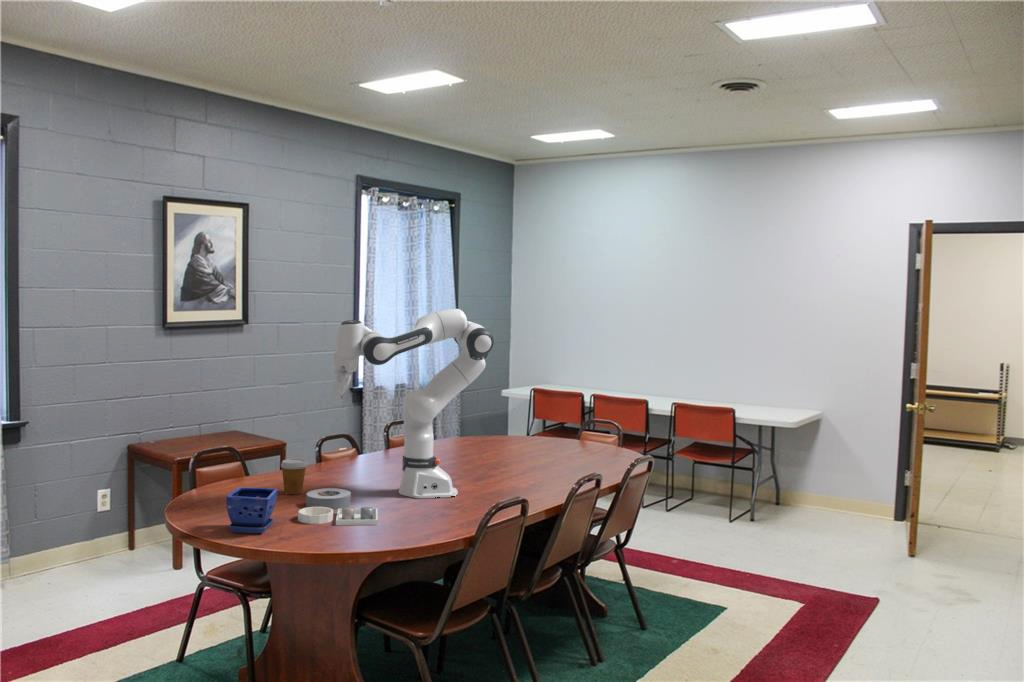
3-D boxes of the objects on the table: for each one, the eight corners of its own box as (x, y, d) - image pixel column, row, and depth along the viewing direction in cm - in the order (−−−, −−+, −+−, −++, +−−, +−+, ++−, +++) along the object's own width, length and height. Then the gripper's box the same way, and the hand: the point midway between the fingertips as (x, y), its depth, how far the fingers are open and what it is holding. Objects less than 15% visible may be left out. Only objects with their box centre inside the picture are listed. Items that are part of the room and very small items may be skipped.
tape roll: (307, 513, 283) (307, 498, 283) (305, 502, 298) (305, 488, 297) (352, 512, 287) (353, 497, 287) (348, 501, 302) (349, 487, 302)
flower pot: (278, 524, 268) (279, 487, 267) (267, 536, 255) (268, 497, 254) (236, 523, 268) (237, 486, 267) (223, 534, 254) (224, 496, 254)
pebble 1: (354, 517, 277) (354, 506, 276) (354, 520, 273) (354, 510, 272) (342, 517, 276) (342, 507, 276) (341, 520, 272) (341, 510, 272)
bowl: (333, 517, 279) (334, 506, 279) (331, 526, 268) (332, 515, 268) (299, 517, 277) (300, 506, 277) (296, 526, 266) (297, 515, 266)
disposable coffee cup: (311, 491, 313) (311, 460, 312) (298, 497, 304) (298, 464, 303) (288, 489, 316) (289, 457, 315) (274, 494, 306) (275, 462, 306)
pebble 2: (372, 517, 278) (372, 506, 277) (372, 520, 274) (372, 510, 273) (360, 517, 277) (360, 506, 277) (360, 520, 273) (360, 510, 273)
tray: (377, 515, 283) (377, 508, 283) (377, 527, 269) (377, 520, 269) (337, 515, 281) (338, 508, 281) (335, 527, 267) (335, 520, 266)
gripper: (350, 371, 290) (344, 409, 292) (356, 361, 310) (351, 396, 312) (332, 368, 289) (326, 406, 291) (339, 358, 309) (334, 394, 311)
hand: (339, 401), depth 302 cm, fingers open, 8 cm apart
